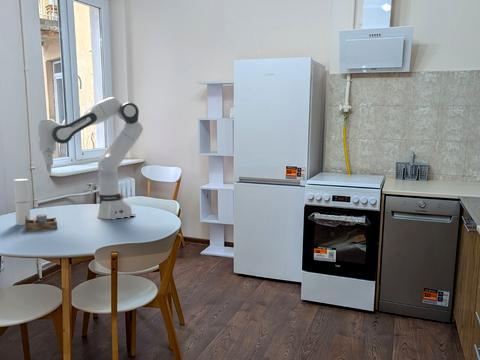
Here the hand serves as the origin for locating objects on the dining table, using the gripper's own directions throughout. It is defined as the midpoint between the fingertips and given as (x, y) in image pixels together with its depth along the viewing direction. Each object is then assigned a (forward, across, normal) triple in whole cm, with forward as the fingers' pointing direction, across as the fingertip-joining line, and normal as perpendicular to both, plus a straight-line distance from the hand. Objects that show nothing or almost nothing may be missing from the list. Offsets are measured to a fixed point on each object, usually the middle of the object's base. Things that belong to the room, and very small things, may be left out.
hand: (49, 171), depth 237 cm
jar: (+28, -21, +6) cm, 35 cm away
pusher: (+27, -21, +9) cm, 36 cm away
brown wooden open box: (+28, -21, +6) cm, 36 cm away
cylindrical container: (+28, -6, +15) cm, 33 cm away
